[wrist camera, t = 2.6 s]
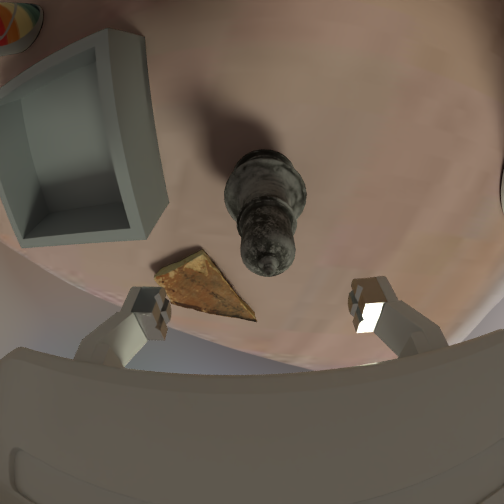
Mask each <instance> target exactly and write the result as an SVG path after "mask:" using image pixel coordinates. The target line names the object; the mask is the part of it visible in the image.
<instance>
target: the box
mask: <svg viewBox="0 0 504 504" xmlns="http://www.w3.org/2000/svg"><path fill="white" fill-rule="evenodd" d="M0 197H1V200H2V203H3V205H4V208H5V211H6V213H7V216H8V218H9V221H10V223H11V226H12V228H13V230H14V233H15V235H16V237H17V239H18V242H19V244H20V246H21V248H32V247H44V246H57V245H70V244H85V243H99V242H115V241H131V240H147V238H148V236H149V234H150V233H151V231H152V229H153V228H154V226H155V224H156V223H157V221H158V220H159V218H160V216H161V215H162V213H163V212H164V210H165V208H166V207H167V205H168V204H169V200H168V195H167V190H166V185H165V180H164V175H163V170H162V164H161V159H160V153H159V148H158V142H157V136H156V129H155V123H154V116H153V109H152V102H151V94H150V86H149V78H148V68H147V58H146V47H145V37H143V36H140V35H136V34H132V33H128V32H124V31H120V30H116V29H111V28H106V29H103V30H101V31H98V32H96V33H94V34H91V35H89V36H87V37H85V38H83V39H80V40H78V41H76V42H74V43H72V44H70V45H68V46H66V47H64V48H62V49H60V50H58V51H57V52H55V53H53V54H51V55H49V56H48V57H46V58H44V59H43V60H41V61H39V62H38V63H36V64H34V65H33V66H31V67H30V68H28V69H27V70H25V71H24V72H22V73H21V74H19V75H18V76H16V77H15V78H13V79H12V80H11V81H9V82H8V83H6V84H5V85H4V86H2V87H1V88H0Z"/></svg>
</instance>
